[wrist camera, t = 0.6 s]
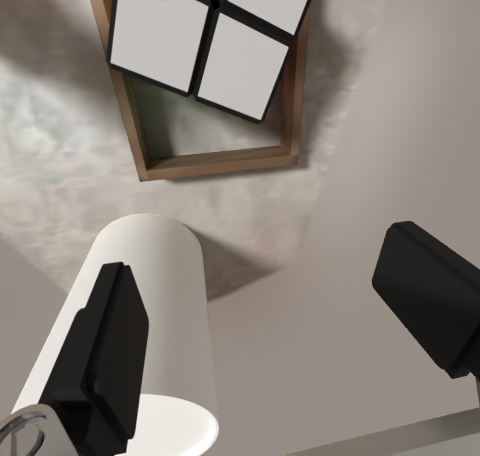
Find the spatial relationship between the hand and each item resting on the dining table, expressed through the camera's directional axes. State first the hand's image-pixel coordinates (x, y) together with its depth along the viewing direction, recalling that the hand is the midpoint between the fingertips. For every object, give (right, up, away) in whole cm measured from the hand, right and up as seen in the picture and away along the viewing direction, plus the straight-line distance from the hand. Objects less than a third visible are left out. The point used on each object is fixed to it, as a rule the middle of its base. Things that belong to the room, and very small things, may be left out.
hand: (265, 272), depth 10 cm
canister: (-13, -2, +25) cm, 28 cm away
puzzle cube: (-4, +19, +13) cm, 23 cm away
